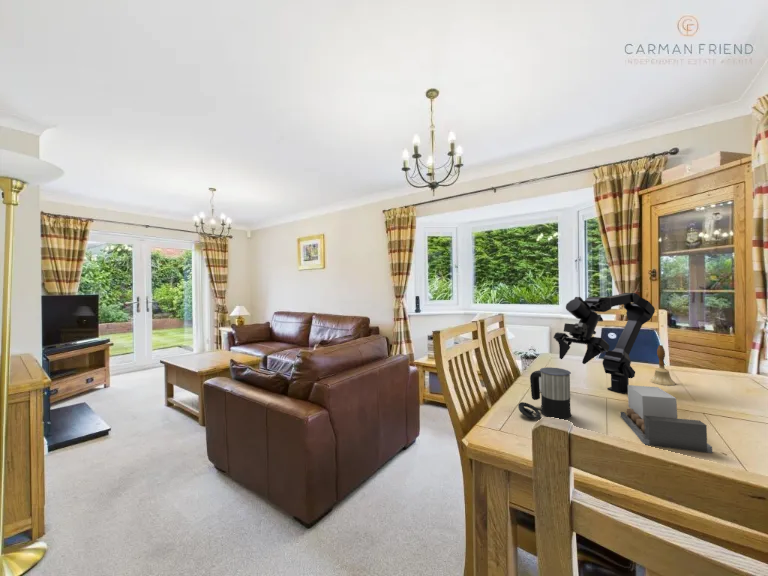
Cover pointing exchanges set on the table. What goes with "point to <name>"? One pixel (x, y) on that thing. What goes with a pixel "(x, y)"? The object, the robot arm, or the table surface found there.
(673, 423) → the conveyor frame
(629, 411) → the roller
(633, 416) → the roller
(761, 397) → the table surface
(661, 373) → the hand bell
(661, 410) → the grey block
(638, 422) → the roller
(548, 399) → the milk frother
